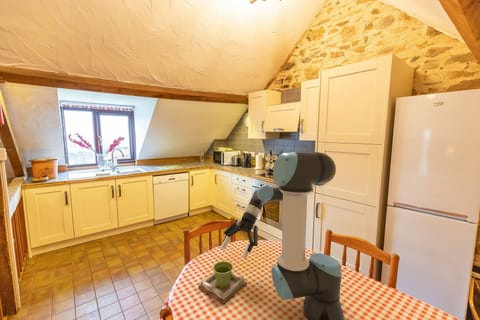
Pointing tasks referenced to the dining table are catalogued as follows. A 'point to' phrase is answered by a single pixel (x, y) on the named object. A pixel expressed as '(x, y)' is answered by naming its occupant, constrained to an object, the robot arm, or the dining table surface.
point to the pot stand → (222, 293)
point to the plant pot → (223, 273)
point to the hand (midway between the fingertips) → (232, 253)
